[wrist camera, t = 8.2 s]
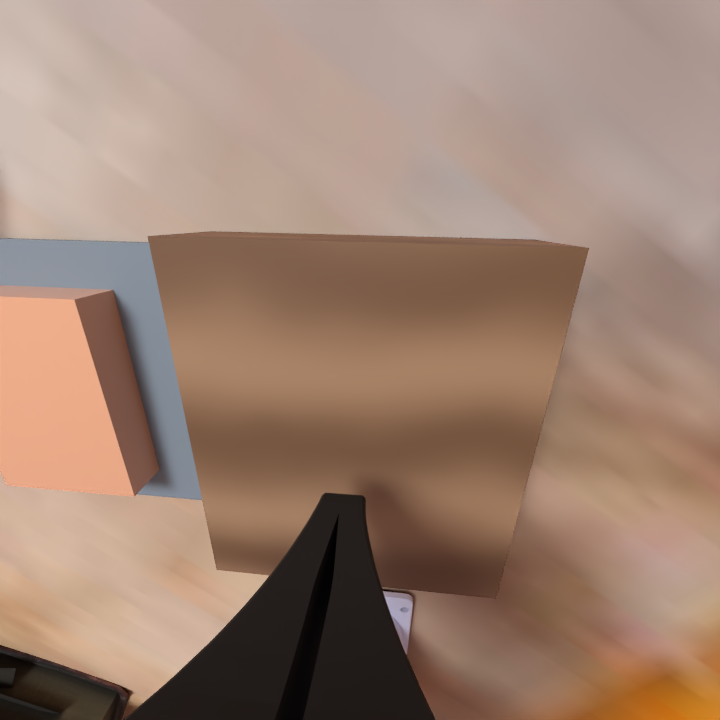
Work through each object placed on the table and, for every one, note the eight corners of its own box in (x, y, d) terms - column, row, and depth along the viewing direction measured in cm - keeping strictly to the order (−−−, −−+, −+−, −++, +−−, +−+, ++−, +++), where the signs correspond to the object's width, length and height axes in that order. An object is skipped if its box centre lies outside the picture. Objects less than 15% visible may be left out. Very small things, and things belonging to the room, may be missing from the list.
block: (6, 485, 18) (43, 460, 20) (134, 496, 17) (159, 469, 19) (-88, 292, 14) (-31, 284, 16) (74, 299, 13) (112, 289, 15)
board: (476, 524, 19) (496, 598, 15) (249, 504, 20) (216, 569, 16) (534, 239, 13) (589, 247, 10) (211, 231, 14) (147, 236, 11)
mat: (240, 497, 20) (237, 503, 19) (33, 480, 21) (26, 484, 20) (201, 243, 14) (196, 244, 14) (-76, 236, 15) (-87, 236, 15)
